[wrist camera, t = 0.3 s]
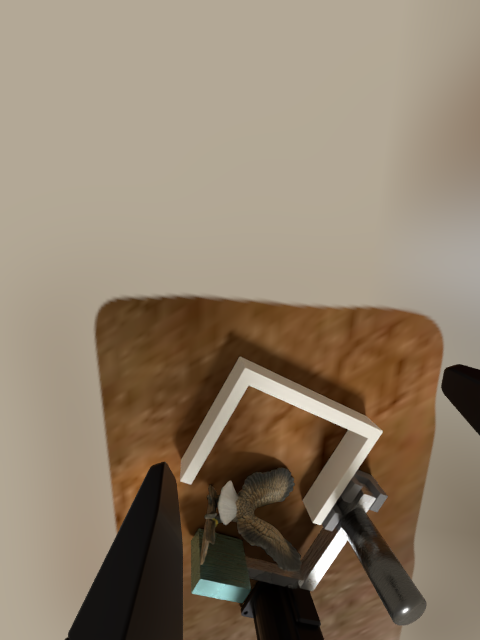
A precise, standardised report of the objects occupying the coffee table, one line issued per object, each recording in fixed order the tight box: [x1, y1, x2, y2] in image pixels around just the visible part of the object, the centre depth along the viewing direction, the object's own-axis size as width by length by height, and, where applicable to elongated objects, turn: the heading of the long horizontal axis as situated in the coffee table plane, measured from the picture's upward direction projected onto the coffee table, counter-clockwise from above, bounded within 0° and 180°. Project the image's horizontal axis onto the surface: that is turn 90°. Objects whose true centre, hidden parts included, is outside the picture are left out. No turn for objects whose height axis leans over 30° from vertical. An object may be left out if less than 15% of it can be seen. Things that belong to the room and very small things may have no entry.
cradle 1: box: [322, 496, 343, 531], centre depth 28 cm, size 2×5×3 cm, turn 60°
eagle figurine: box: [200, 468, 302, 572], centre depth 25 cm, size 8×7×9 cm
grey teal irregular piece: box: [191, 483, 426, 625], centre depth 24 cm, size 13×14×10 cm
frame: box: [180, 357, 383, 525], centre depth 25 cm, size 11×15×2 cm
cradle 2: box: [340, 470, 388, 512], centre depth 28 cm, size 2×5×3 cm, turn 61°
